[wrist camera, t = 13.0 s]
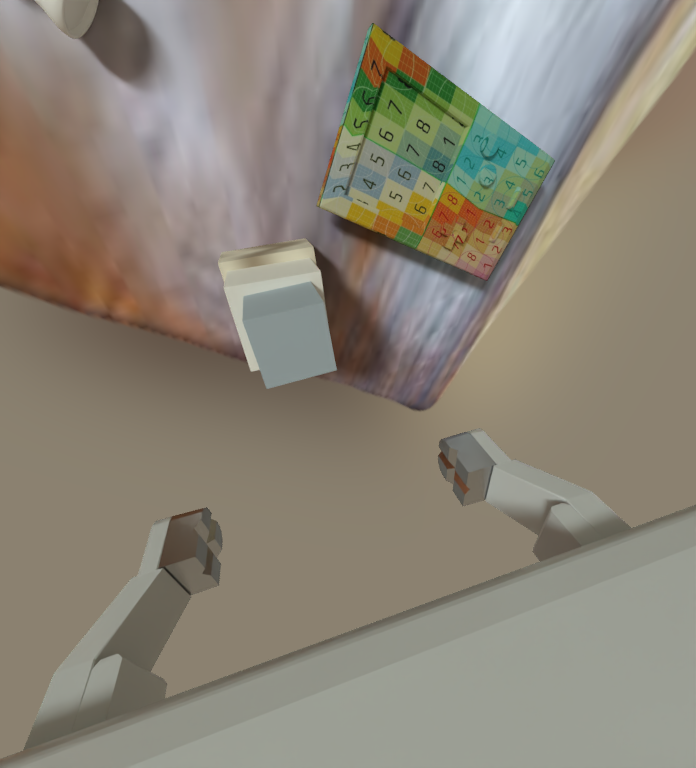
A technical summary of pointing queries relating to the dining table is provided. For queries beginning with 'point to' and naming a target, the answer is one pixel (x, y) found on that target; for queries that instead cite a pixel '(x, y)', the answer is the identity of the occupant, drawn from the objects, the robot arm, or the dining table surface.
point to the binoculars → (70, 15)
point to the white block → (266, 289)
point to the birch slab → (265, 255)
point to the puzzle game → (428, 162)
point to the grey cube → (289, 333)
